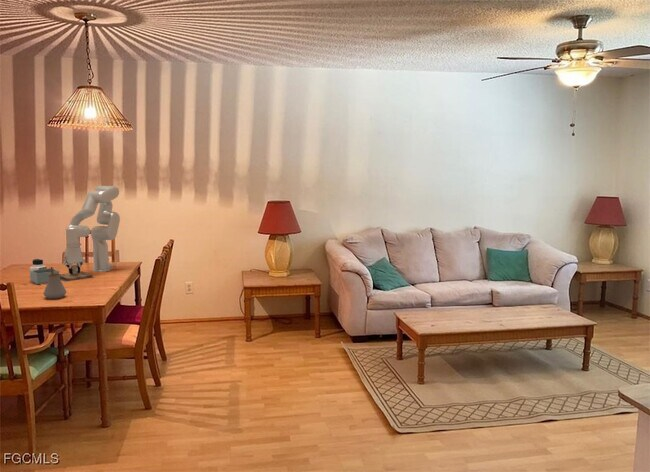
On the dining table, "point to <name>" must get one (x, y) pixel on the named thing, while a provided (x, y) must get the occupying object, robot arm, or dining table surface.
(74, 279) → the rubber mat
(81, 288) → the dining table surface
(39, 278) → the grey ceramic box
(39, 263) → the medicine bottle
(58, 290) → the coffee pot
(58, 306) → the dining table surface
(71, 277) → the walnut lid
